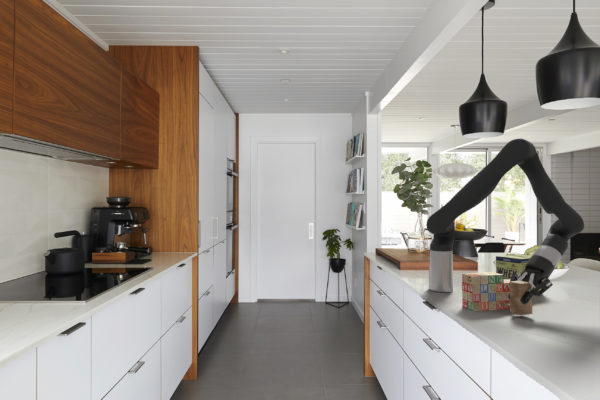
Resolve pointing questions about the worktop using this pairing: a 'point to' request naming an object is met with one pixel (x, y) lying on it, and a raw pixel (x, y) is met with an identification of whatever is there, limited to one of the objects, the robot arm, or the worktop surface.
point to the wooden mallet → (518, 298)
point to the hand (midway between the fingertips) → (516, 300)
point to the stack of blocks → (484, 291)
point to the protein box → (511, 265)
